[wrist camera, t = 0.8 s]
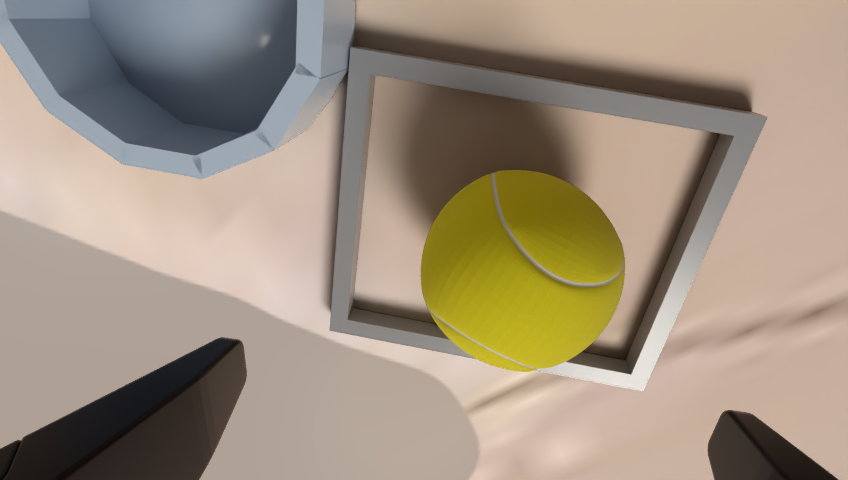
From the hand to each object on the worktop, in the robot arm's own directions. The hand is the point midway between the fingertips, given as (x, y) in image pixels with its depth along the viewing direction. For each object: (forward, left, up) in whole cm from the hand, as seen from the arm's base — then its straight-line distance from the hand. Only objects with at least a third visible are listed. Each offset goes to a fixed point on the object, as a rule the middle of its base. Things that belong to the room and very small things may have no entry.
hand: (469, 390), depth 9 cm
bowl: (+11, -5, -12) cm, 17 cm away
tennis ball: (-2, +2, -12) cm, 13 cm away
